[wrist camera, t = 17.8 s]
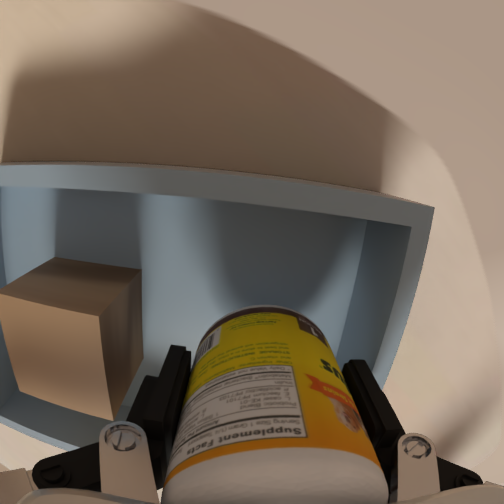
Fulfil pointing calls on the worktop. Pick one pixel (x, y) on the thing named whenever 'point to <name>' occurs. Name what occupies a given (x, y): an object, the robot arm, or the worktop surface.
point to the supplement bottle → (270, 419)
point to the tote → (211, 260)
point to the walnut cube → (75, 333)
